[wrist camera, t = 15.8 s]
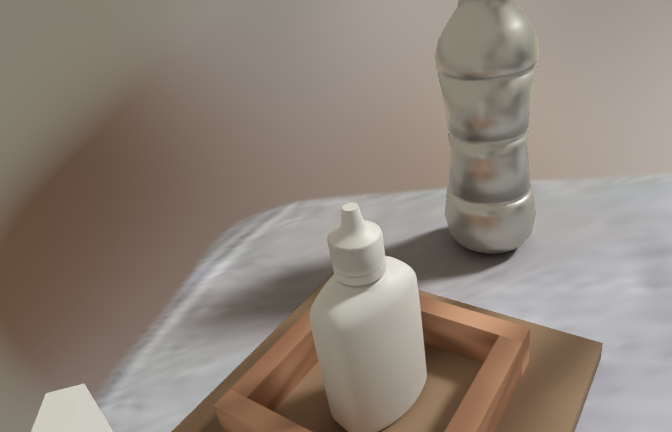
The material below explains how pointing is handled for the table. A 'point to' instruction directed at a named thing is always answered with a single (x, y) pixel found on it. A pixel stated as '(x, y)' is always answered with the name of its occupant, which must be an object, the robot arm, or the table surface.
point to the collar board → (441, 383)
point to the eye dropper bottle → (368, 329)
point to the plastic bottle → (488, 123)
